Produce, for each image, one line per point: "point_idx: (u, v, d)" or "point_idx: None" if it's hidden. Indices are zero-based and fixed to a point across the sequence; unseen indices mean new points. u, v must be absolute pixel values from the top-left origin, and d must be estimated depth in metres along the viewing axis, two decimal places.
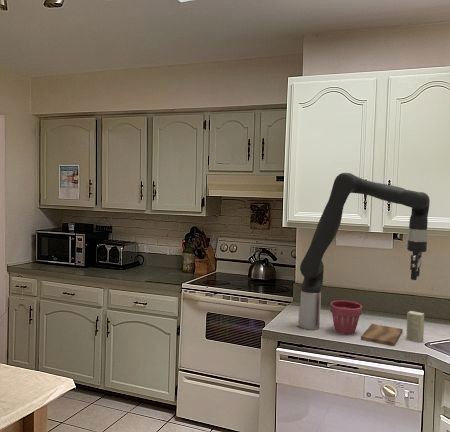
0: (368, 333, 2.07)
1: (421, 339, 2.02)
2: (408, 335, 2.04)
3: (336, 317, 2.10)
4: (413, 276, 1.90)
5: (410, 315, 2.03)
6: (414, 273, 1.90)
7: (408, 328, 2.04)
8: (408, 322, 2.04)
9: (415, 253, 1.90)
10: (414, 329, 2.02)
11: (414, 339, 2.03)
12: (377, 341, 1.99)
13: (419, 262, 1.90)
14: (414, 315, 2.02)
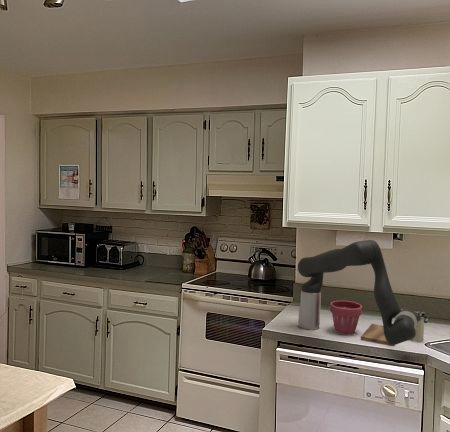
0: (368, 333, 2.07)
1: (421, 339, 2.02)
2: None
3: (336, 317, 2.10)
4: None
5: None
6: None
7: None
8: None
9: None
10: None
11: (414, 339, 2.03)
12: (377, 341, 1.99)
13: None
14: None
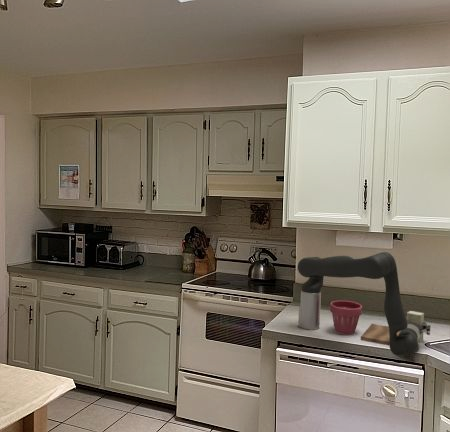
0: (368, 333, 2.07)
1: (421, 339, 2.02)
2: None
3: (336, 317, 2.10)
4: None
5: (410, 315, 2.03)
6: None
7: None
8: None
9: None
10: None
11: None
12: (377, 341, 1.99)
13: None
14: (414, 315, 2.02)
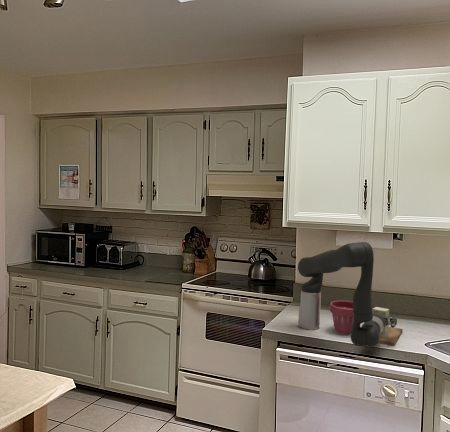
0: None
1: (386, 335, 2.02)
2: None
3: (336, 317, 2.10)
4: None
5: (375, 311, 2.03)
6: None
7: None
8: None
9: None
10: None
11: (379, 335, 2.02)
12: None
13: None
14: (379, 311, 2.01)
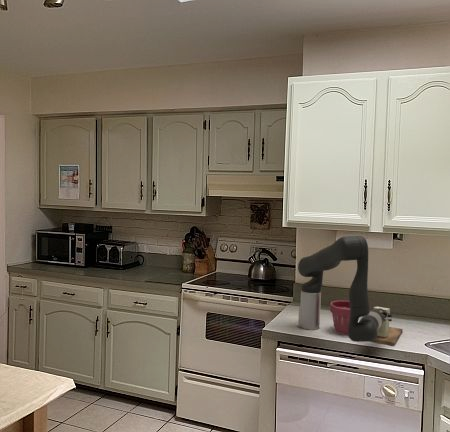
0: None
1: (386, 334, 2.02)
2: None
3: (336, 317, 2.10)
4: None
5: None
6: None
7: None
8: None
9: None
10: None
11: (379, 334, 2.02)
12: (377, 341, 1.99)
13: None
14: None
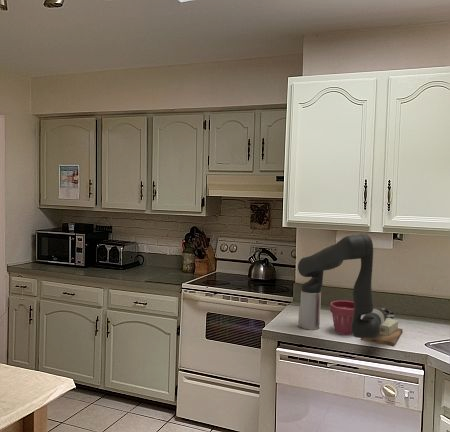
0: None
1: (389, 329, 2.04)
2: None
3: (336, 317, 2.10)
4: (380, 308, 2.05)
5: (387, 318, 2.15)
6: None
7: None
8: None
9: None
10: (387, 322, 2.09)
11: (384, 325, 2.06)
12: (377, 341, 1.99)
13: None
14: (391, 319, 2.14)
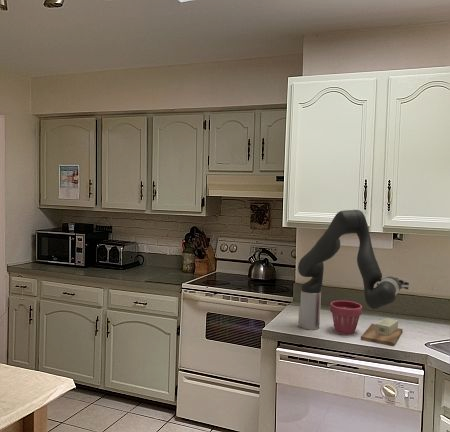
0: (368, 333, 2.07)
1: (389, 329, 2.04)
2: (379, 323, 2.08)
3: (336, 317, 2.10)
4: None
5: (387, 318, 2.15)
6: None
7: (381, 321, 2.11)
8: (383, 320, 2.13)
9: None
10: (387, 322, 2.09)
11: (384, 325, 2.06)
12: (377, 341, 1.99)
13: None
14: (391, 319, 2.14)
